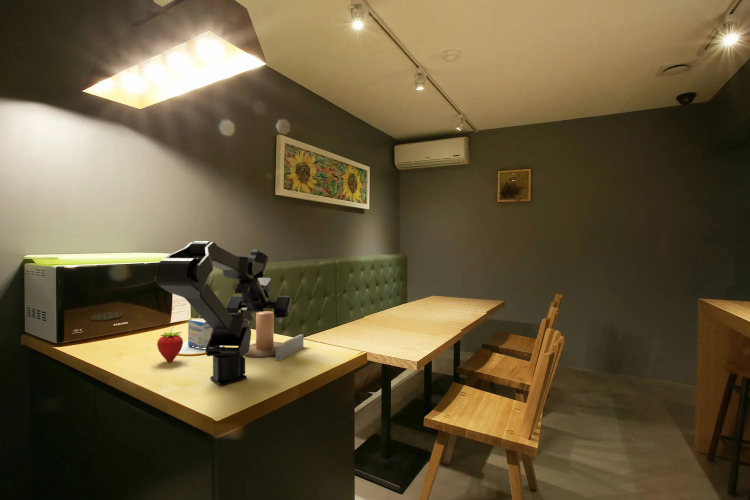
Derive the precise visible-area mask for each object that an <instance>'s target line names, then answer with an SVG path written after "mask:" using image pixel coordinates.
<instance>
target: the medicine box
mask: <svg viewBox="0 0 750 500" xmlns="http://www.w3.org/2000/svg"><path fill="white" fill-rule="evenodd" d="M187 326H188V328H187V329H188V331H187V334H188V335H187V346H188V347H189V346H194V347H199V348H206V347H207V344H208V342H209V340H210V337H211V333H212V330H213V329H212V328H211V327H210V325H209V324H208V323H207V322H206V321H205V320H204V319H203V318H202V317H201V318H199V317H198V318H192V319H189V320H188V321H187Z"/></svg>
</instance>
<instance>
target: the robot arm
mask: <svg viewBox="0 0 750 500" xmlns="http://www.w3.org/2000/svg"><path fill="white" fill-rule="evenodd" d="M269 261H270V258H269V256H268V255H266V254H265V253H263V252H261V251H260V250H259V249H251V251H250V254H249V255H248V256H239V255H236V254H234V253H232V252H230V251H228V250H226V249H225V248H222V247H221V246H219V245H218V244H217V243H216V242H213V241H212V240H210V241H209V240H207V241H206V240H203V241H202V240H201V241H200V240H199V241H198V240H194V241H192V242H189V243H188V244H186V246H185V247H183V248H181V249H179V250H178V249H177V251H175V252H171V253H170V254H168V255H167V256H166V257H165V258H163V259H161V260H160V261H159V263H158V264H157V265H156V266H155V268H154V270H153V271H154V273H153V275H154V279H155V282H156V284H157V285H158V286H159V287H160V288H162V289H163V290H165V291H166V292H168V293H170V294H172V295H175V296H179V297H182V298H183V299H185V300H186V301H187V302H188V304H189V305H190V306H191V307H192V308H193V309H194V310H195V311H196V312H197V313H198V315H199V316H200V317H201V319H204V320H205V321H206V322H207V323H208V324H209V325H210V327H211V328H212V329H213V330H212V333H211V337H210V340H209V342H208V344H207V347H206V349H205V352H206V357H212V375H211V376H210V378H209V379H210V380H211V381H212V382H213V383H216V384H217V385H219V386H225V385H229V384H232V383H236V382H239V381H242V380H243V381H244V380H245V379H247V378H248V377H247V375H245V374H246V356H243V355H244V354H246V353H247V352H249V346H250V345H251V340H252V339H251V338H252V330H251V327H250V326H249V324H248V323H249V322H250V323H253V322H254V317H253V315H252V313H251V312H254V313H255V312H256V313H257V312H264V311H265V309H273V312H274V319H276V321H277V322H278V323H279V324H282V321H283V319H284V318H286V317H288V316H290V311H291V308H292V304H293V299H292V297H291V296H290V295H278V296H277V297H276V299H275V300H273V299H272V300H271V299H270V297H271V293H270V292H271V290H273V281H272V278H271V277H264V275H265V273H266V269H267V267H268V264H269ZM214 268H216V269H218V270H221V271H222V275H223V276H224V277H225V278H227V279H229V280H236V282H235V284H236V286H235V288H234V293H235V294H237V295H231V296H230V297H229V299H228V301H227V304H226V306H225V305H224V304H223V303H222V301H221V300H220V298H219V297H218V296H217V294H215V292H214V291H213V289H212V288H211V287H210V285H209V284H208V281H209V277H210V275H211V273H212V272H213V271H214ZM238 294H240V295H238Z"/></svg>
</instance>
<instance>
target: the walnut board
mask: <svg viewBox="0 0 750 500" xmlns="http://www.w3.org/2000/svg"><path fill="white" fill-rule="evenodd" d="M281 343H282V342H279V341H274V348H272V349H270V350H257V349H256V342H254V343H250V346H249V352H247V353H246V354H244V355H243V357H245V358H246V357H247V358H251V359H252V358H255V359H256V358H257V359H262V358H270V357H276V346H277V345H279V344H281Z"/></svg>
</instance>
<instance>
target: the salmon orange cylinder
mask: <svg viewBox="0 0 750 500" xmlns="http://www.w3.org/2000/svg"><path fill="white" fill-rule="evenodd" d="M274 319H275V315H274V311H272V310H271V311H267V310H264V312H256V313H255V343H256V349H257V350H270V349H272V348H274V342H275V341H274V335H275V334H274V332H275V331H274V326H275V325H274V323H275V321H274Z"/></svg>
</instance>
